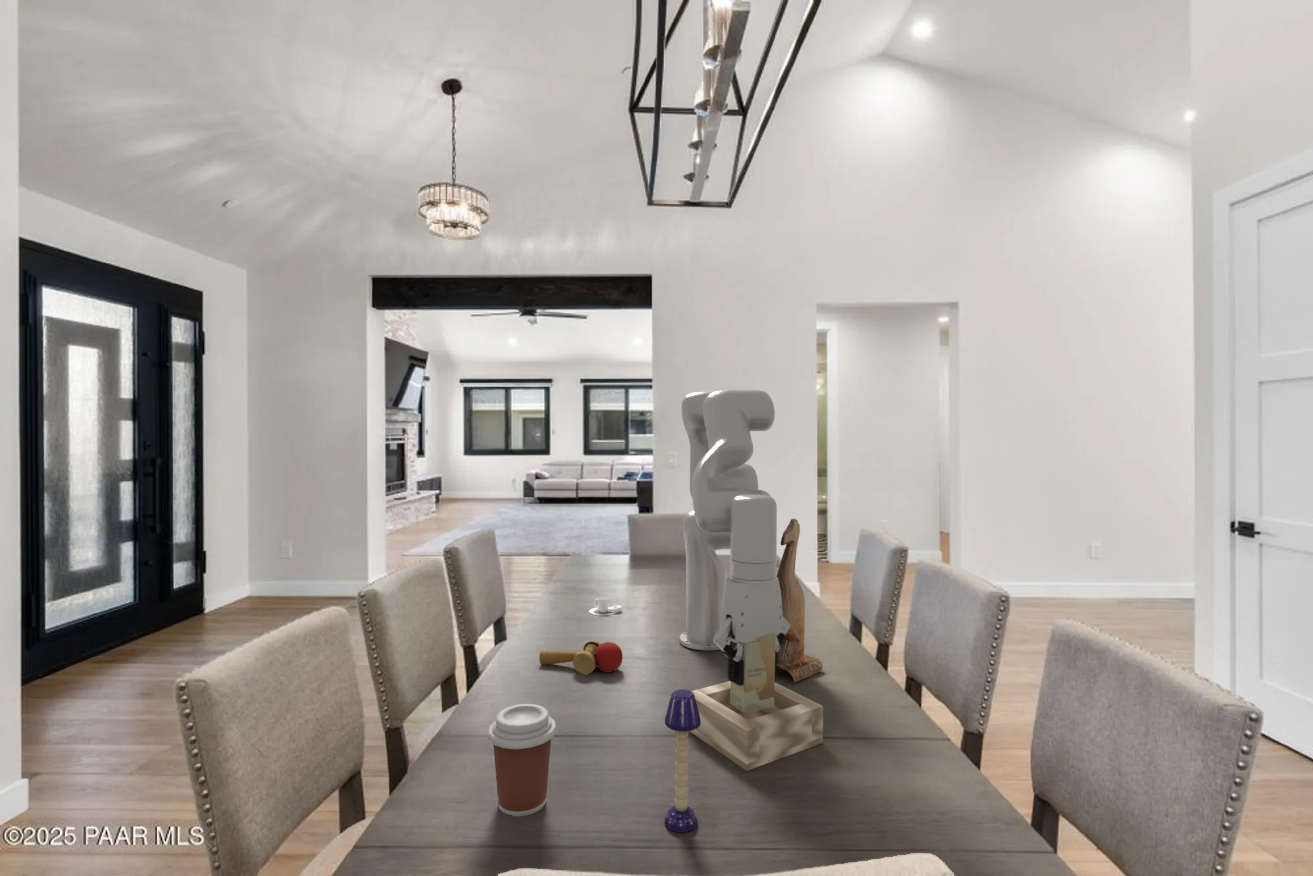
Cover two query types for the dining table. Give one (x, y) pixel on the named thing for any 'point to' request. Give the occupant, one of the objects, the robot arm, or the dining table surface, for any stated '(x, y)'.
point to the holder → (758, 726)
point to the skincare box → (756, 676)
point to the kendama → (587, 657)
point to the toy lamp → (682, 757)
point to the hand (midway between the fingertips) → (752, 677)
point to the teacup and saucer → (605, 607)
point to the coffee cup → (522, 757)
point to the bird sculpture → (793, 611)
